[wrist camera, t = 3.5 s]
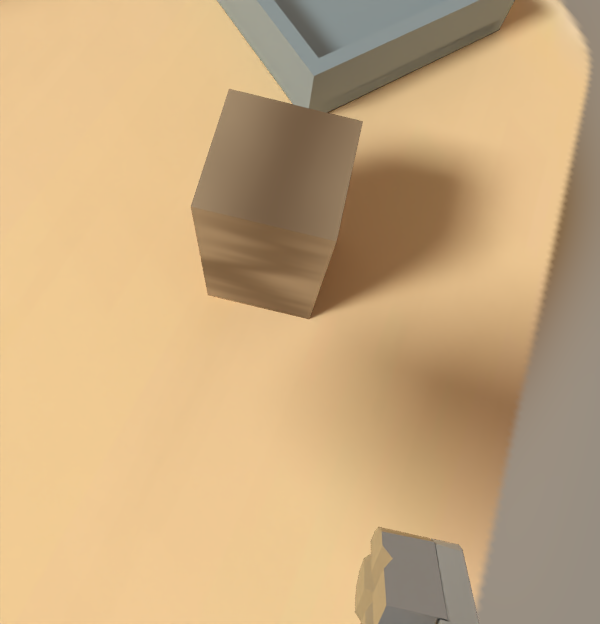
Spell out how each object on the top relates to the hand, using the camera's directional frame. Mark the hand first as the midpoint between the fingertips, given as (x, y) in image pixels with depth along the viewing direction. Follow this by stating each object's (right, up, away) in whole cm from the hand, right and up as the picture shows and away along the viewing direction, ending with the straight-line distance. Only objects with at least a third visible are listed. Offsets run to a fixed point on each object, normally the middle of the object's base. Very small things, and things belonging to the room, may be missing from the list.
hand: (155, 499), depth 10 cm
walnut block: (+1, +6, +17) cm, 18 cm away
